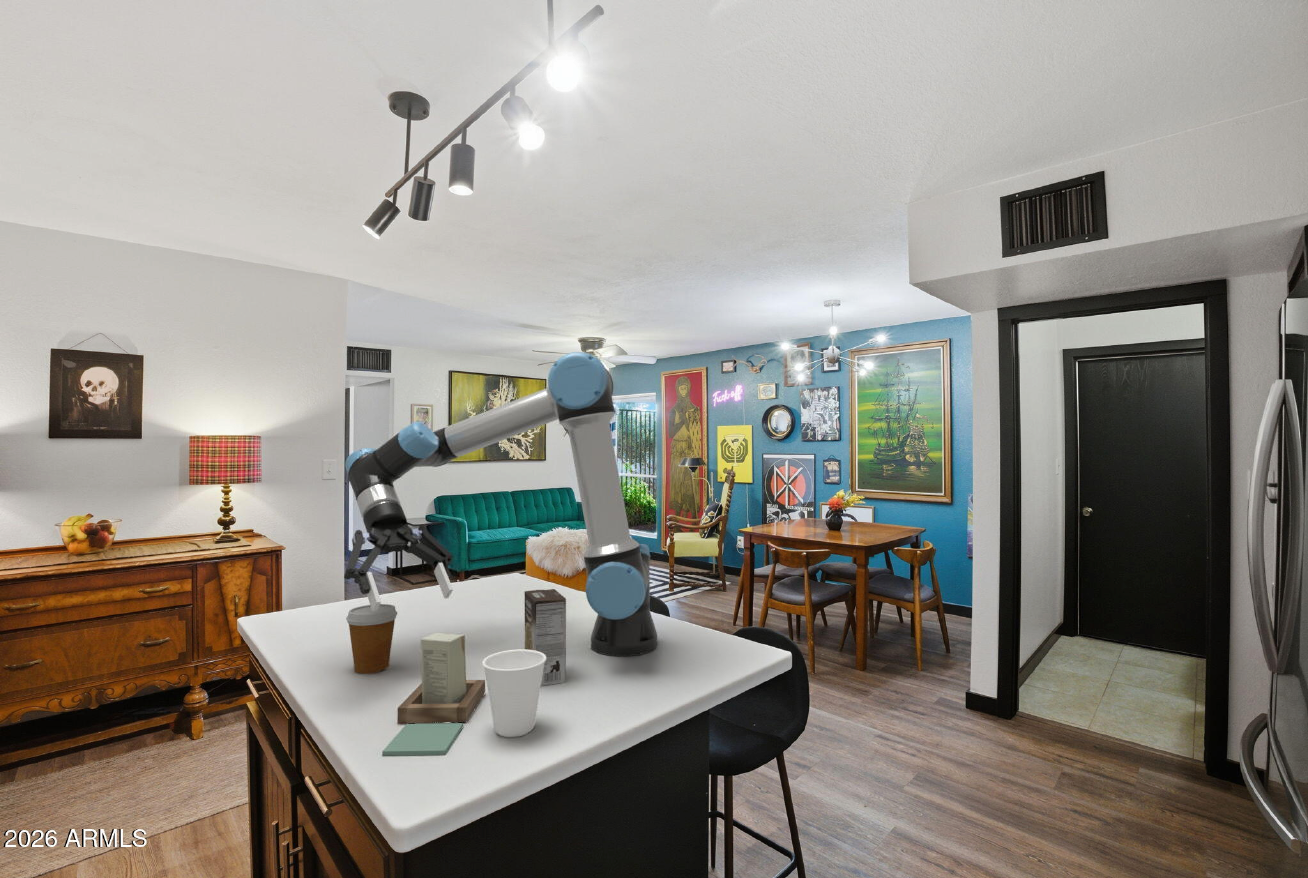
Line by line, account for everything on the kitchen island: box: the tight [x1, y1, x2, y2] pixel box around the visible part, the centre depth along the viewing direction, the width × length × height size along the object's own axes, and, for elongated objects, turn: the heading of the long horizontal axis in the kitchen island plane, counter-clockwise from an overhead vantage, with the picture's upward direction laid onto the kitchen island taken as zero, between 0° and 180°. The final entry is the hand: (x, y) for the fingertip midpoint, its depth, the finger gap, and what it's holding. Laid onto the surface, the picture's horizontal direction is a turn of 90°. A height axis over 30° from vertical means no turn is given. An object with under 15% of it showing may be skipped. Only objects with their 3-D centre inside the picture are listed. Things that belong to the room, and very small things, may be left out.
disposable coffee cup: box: [345, 603, 398, 675], centre depth 124 cm, size 10×10×12 cm
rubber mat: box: [381, 723, 464, 757], centre depth 92 cm, size 9×9×1 cm
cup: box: [481, 648, 546, 738], centre depth 96 cm, size 10×10×11 cm
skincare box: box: [420, 632, 467, 704], centre depth 104 cm, size 6×4×12 cm
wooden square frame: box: [396, 679, 486, 725], centre depth 104 cm, size 11×12×2 cm
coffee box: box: [524, 588, 567, 687], centre depth 119 cm, size 9×6×16 cm
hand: (414, 600), depth 112 cm, fingers open, 13 cm apart
